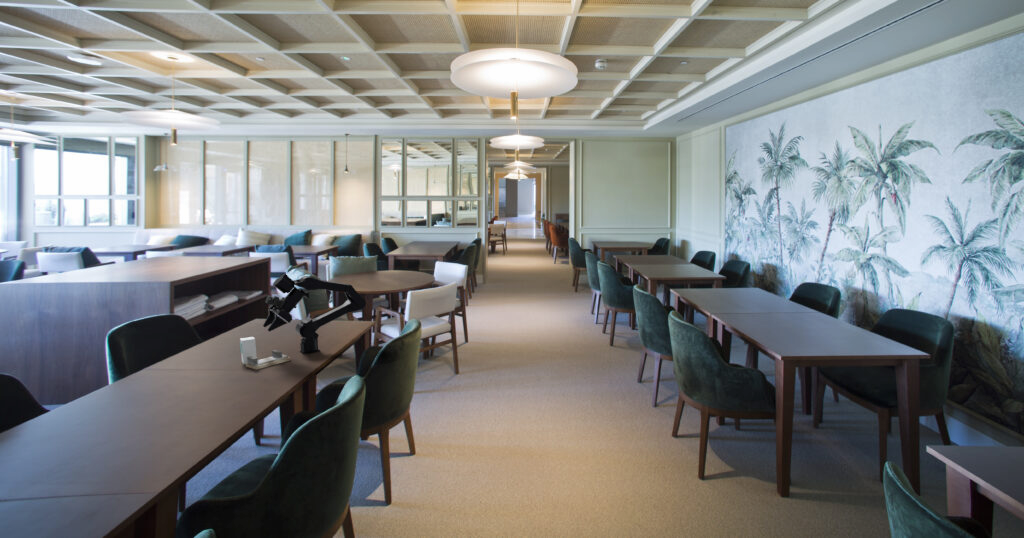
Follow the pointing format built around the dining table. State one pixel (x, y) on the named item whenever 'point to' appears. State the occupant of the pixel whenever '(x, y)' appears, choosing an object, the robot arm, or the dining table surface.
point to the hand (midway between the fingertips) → (266, 328)
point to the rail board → (267, 360)
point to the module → (247, 348)
